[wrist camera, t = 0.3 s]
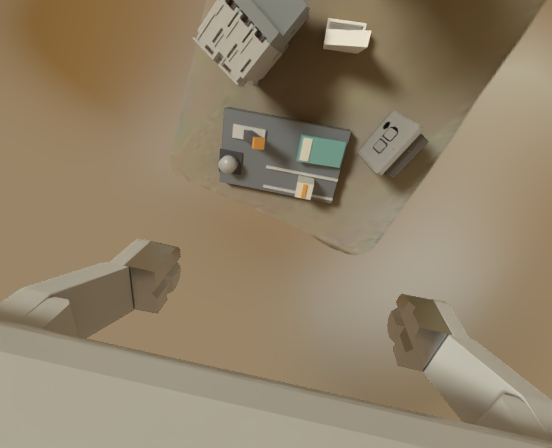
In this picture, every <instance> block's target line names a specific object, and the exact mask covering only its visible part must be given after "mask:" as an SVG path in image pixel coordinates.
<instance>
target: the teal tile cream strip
mask: <svg viewBox="0 0 552 448" xmlns="http://www.w3.org/2000/svg"><path fill="white" fill-rule="evenodd" d="M345 146H346V142H345V141H340V140H334V139H328V138H322V137H316V136H309V135H303V134H301V138H300V143H299V149H298V154H297V159H296V160H297V161H298V162H305V163H311V164H318V165H324V166H331V167H337V168H340V164H341V161H342V157H343V154H344V150H345Z"/></svg>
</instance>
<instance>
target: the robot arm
mask: <svg viewBox="0 0 552 448" xmlns="http://www.w3.org/2000/svg"><path fill="white" fill-rule="evenodd" d="M179 258H180V249H179V248H178V247H175V246H171V245H167V244H162V243H158V242H154V241H148V240H144V239H136V240H135V241H133V242H132V243H131V244H130V245H129V246H128V247H127V248H126V249H124V250H123V251H122V252H121V253H120V254H119V255H117V256H116V257H115V258H114V259H113V260H112V261H111V262H109V263H108V262H103V263H100V264H97V265H93V266H91V267H87V268H84V269H81V270H77V271H74V272H71V273H68V274H65V275H62V276H58V277H55V278H52V279H49V280H46V281H43V282H39V283H37V284H34V285H30V286H27V287H23V288H21V289H20V290H18V291H17V292H16V293H14V294H12V295H11V296H10V297H8V298H7V299H5V300H4V301H2V302H1V303H0V448H552V400H550V399H549V398H548V397H547V396H545V395H544V394H543V393H541V392H540V391H539V390H538V389H536V388H535V387H534V386H533V385H531V384H530V383H529V382H527V381H526V380H525V379H523V378H522V377H521V376H520V375H518V374H517V373H516V372H515V371H513V370H512V369H511V368H510V367H508V366H507V365H506V364H504V363H503V362H502V361H501V360H499V359H498V358H497V357H496V356H494V355H493V354H492V353H490V352H489V351H488V350H487V349H485V348H484V347H483V346H482V345H480V344H479V343H478V342H476V341H475V340H472V339H470V338H469V337H468V335H467V333H466V332H465V330H464V328H463V327H462V325H461V324H460V322H459V320H458V319H457V317H456V315H455V314H454V312H453V311H452V309H451V307H450V305H449V304H448V303H446V302H444V301H438V300H433V299H430V300H429V299H425V298H420V297H415V296H410V295H405V294H401V295H400V296H399V297H398V299H397V302H396V303H397V306H398V308H396V309H394V310H393V311H391V314H390V316H389V318H388V333H389V337H390V338H391V339H392V340H393V341H394V343H395V345H394V347H393V351H394V354H395V357H396V361H397V364H398V366H402V367H406V368H410V369H414V370H419V371H422V372H423V373H424V375H425V376H426V377H427V378H428V379H429V381H430V382H431V383H432V385H433V386H434V387H435V388H436V389H437V391H438V392H439V393H440V395H441V396H442V397H443V398H444V399H445V401H446V402H447V403H448V404H449V406H450V407H451V408H452V409H453V411H454V412H455V413H456V414H457V416H458V417H459V418H460V419H461V421H463V422H459V421H455V420H451V419H446V418H442V417H437V416H433V415H428V414H424V413H419V412H415V411H410V410H405V409H401V408H397V407H392V406H387V405H383V404H379V403H374V402H369V401H365V400H360V399H356V398H352V397H347V396H343V395H338V394H334V393H329V392H324V391H320V390H316V389H311V388H307V387H302V386H297V385H293V384H289V383H284V382H280V381H275V380H271V379H266V378H261V377H257V376H253V375H248V374H243V373H239V372H234V371H230V370H225V369H221V368H217V367H212V366H207V365H203V364H198V363H194V362H189V361H185V360H181V359H176V358H172V357H167V356H163V355H158V354H153V353H149V352H144V351H140V350H135V349H131V348H127V347H122V346H118V345H113V344H108V343H104V342H99V341H95V340H90V339H86V338H87V337H89V336H91V335H93V334H94V333H96V332H98V331H100V330H101V329H103V328H104V327H106V326H108V325H110V324H111V323H113V322H115V321H116V320H118V319H120V318H122V317H123V316H125V315H126V314H128V313H130V312H132V311H133V310H134V309H137V310H142V311H147V312H152V313H158V312H159V311H160V310H161V308H162V307H163V305H164V304H165V302H166V301H167V294H168V293H170V292H172V291H173V290H174V289H175V287H176V286H177V283H178V281H179V277H180V265H179V264H178V263H177V261H178V260H179Z"/></svg>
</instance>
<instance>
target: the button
mask: <svg viewBox="0 0 552 448" xmlns="http://www.w3.org/2000/svg"><path fill="white" fill-rule="evenodd" d="M237 167H238V159H237V158H236V157H235V156H234V155H232V154H227V155H225V156H224V157H223V158H222V159H220V161H219V169H220V170H221V171H222V172H223V173H225V174H231V173H233V172H234V170H235V169H236V168H237Z"/></svg>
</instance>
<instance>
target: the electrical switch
mask: <svg viewBox="0 0 552 448" xmlns="http://www.w3.org/2000/svg"><path fill="white" fill-rule="evenodd" d="M422 132H423V127H422V126H420V125H419V124H417V123H415V122H414V121H412V120H410V119H408V118H407V117H405V116H403V115H402V114H400V113H398V112H396V111H393V112H391V113H390V114H389V116H388V117H387V118H386V119H385V120H384V122H383V123H382V124H381V125H380V126H379V128H378V129H377V130H376V131H375V132H374V134H373V135H372V136H371V137H370V138H369V140H368V141H367V142H366V143H365V144H364V146H363V147H362V148H361V149H360V150H359V153H358V154H359V155H360V156H361V158H362V159H363V160H364V161H365V162H366V163H367V164H368V165H369V166H370V167H371V169H372V170H373V171H374V172H375V173H376V174H377V175H381V176H382V175H383V173H385V174H386V175H389V176H390V177H391V178H393V179H394V178H395V177H396V176H397V174H398V173H399V172H400V171H401V170H402V169H403V168H404V167H405V166H406V165H407V164H408V163H409V162H410V161H411V160H412V159H413V158H414V157H415V156H416V155H417V154H418V152H419V151H420V150H421V149H422V148H423V147H424V146H425V145H426V144H427V143H428V142H429V141H428V140H427V139H426V138H425V137H424V136H423V135H422V134H421V133H422ZM421 145H422V146H421ZM405 150H406V151H405ZM407 150H408V151H410V152H408V151H407ZM400 160H401V161H400ZM395 161H396V162H395ZM398 170H399V171H398Z"/></svg>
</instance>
